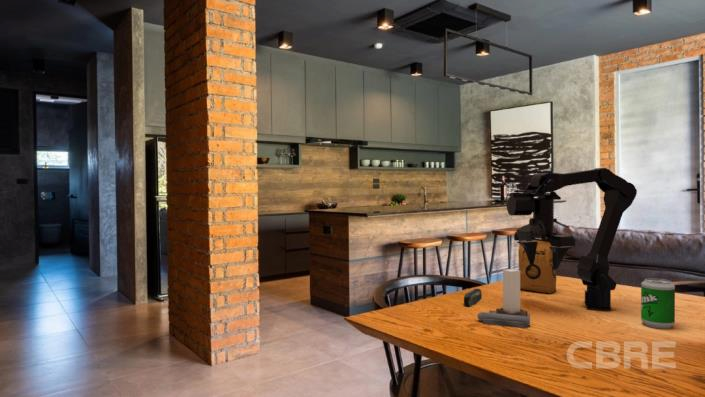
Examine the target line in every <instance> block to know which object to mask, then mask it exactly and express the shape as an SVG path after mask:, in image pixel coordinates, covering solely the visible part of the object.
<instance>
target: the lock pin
mask: <svg viewBox="0 0 705 397" xmlns="http://www.w3.org/2000/svg"><path fill="white" fill-rule="evenodd" d="M502 308H503V310H504V311H506V312H509V313H515V312H520V309H521V288H520V271H519V269H513V268H508V269H502Z"/></svg>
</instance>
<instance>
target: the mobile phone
mask: <svg viewBox="0 0 705 397" xmlns="http://www.w3.org/2000/svg"><path fill="white" fill-rule="evenodd" d="M482 296H483V295H482V289H481V288H474V289H472V290H471V291H469V292H466V293H465V294H464V297H463V307H466V308H471V307H473V306H474V305H477V303H479V302H480V301H481V300H482Z"/></svg>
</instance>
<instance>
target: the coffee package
mask: <svg viewBox="0 0 705 397" xmlns="http://www.w3.org/2000/svg"><path fill="white" fill-rule="evenodd" d="M539 238H541V237H540V236H539ZM533 241H537V240H533ZM537 242H538V244H537V249H536V255H535V260H534V264H533V265H530V263H529V261H528V258H527V255H526V252H525V250H524V248H523V246H522V245H520V244H519V243H518V244H519V246H518V250H517V251H518V270H519V271H520V290H521V289H522V290H525V291H529V292H530V291H531V292H537V293H544V294H553V292H556V291H557V270H554V269H553V258H552V251H551V249H550V248H549V247H551V246H552V245H551V244H550V242H544V241H537Z"/></svg>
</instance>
